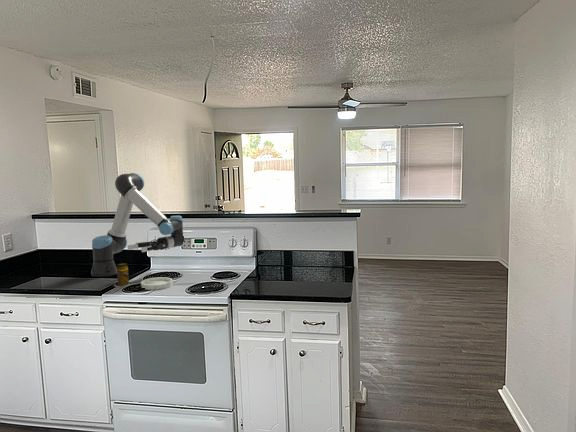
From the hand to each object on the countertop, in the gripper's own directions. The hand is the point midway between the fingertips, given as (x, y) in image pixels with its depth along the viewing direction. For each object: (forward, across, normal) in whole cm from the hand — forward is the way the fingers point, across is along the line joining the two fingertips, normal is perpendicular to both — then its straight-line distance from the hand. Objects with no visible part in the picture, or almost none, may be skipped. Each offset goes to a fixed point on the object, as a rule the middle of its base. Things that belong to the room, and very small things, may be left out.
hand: (134, 248), depth 265 cm
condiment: (+10, 0, -20) cm, 22 cm away
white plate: (-1, -18, -19) cm, 26 cm away
